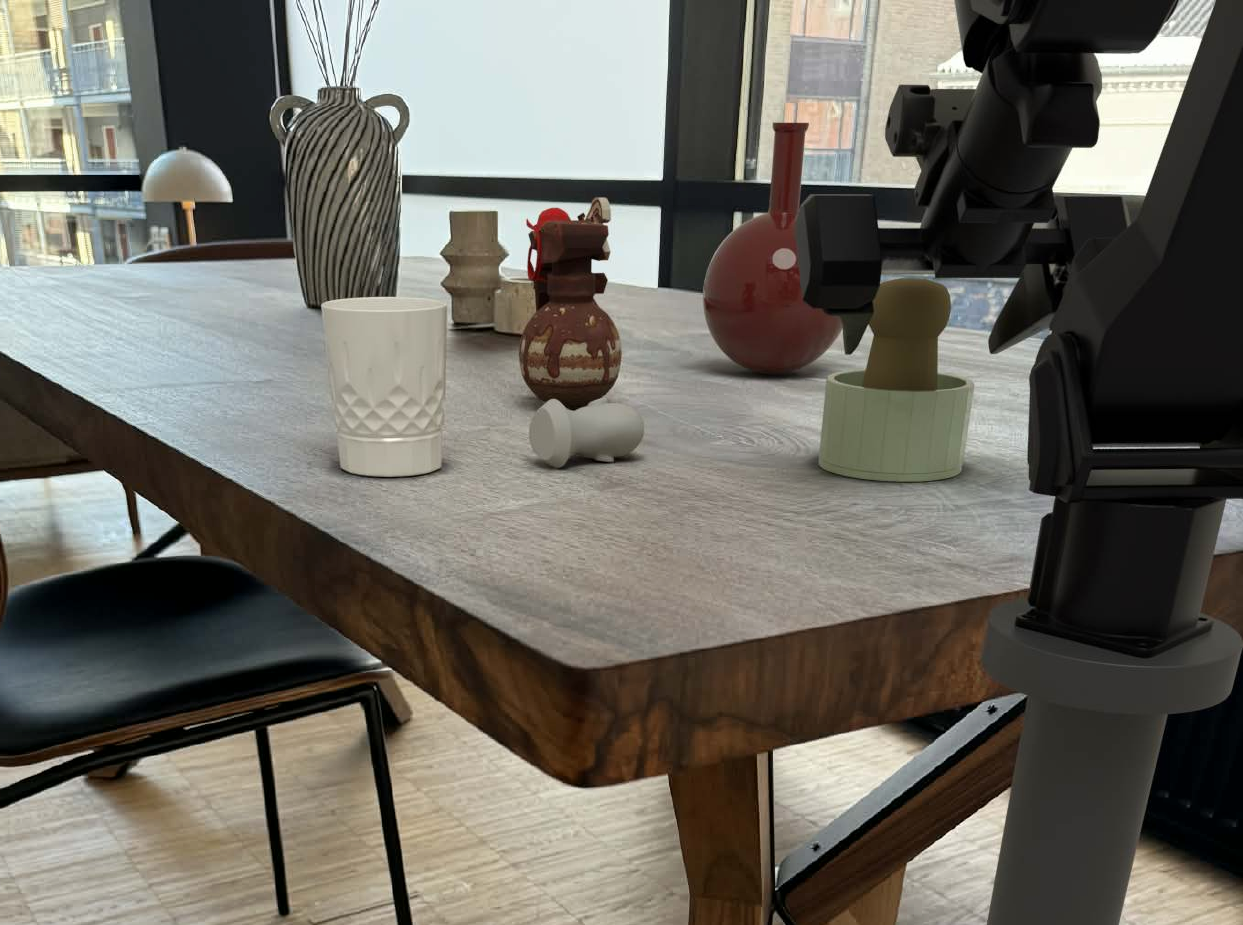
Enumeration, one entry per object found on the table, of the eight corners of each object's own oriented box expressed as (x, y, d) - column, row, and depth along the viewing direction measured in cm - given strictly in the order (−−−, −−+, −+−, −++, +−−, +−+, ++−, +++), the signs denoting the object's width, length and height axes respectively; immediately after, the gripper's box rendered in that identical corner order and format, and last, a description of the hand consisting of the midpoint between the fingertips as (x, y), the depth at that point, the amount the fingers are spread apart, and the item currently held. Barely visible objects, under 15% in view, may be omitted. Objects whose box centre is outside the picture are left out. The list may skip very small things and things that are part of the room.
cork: (830, 452, 99) (848, 275, 93) (911, 448, 100) (933, 273, 94) (868, 470, 93) (889, 284, 88) (953, 466, 95) (979, 283, 89)
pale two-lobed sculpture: (619, 467, 102) (657, 457, 97) (518, 476, 98) (553, 465, 94) (612, 403, 101) (651, 389, 96) (510, 409, 97) (545, 395, 93)
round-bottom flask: (671, 368, 134) (682, 121, 125) (785, 359, 140) (805, 122, 130) (753, 389, 124) (773, 122, 115) (874, 378, 130) (902, 123, 120)
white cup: (341, 482, 92) (330, 312, 87) (323, 458, 98) (313, 298, 93) (462, 476, 94) (459, 308, 89) (437, 452, 100) (432, 295, 95)
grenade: (501, 399, 119) (500, 195, 112) (594, 394, 122) (598, 194, 114) (537, 419, 112) (538, 201, 104) (635, 413, 114) (643, 200, 106)
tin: (988, 467, 97) (1002, 380, 94) (908, 488, 91) (920, 396, 89) (872, 447, 103) (881, 364, 100) (789, 465, 97) (797, 378, 94)
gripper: (1159, 28, 78) (1047, 241, 93) (819, 24, 77) (760, 240, 92) (1194, 198, 75) (1072, 389, 90) (840, 196, 74) (776, 391, 89)
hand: (919, 348), depth 90 cm, fingers open, 9 cm apart
